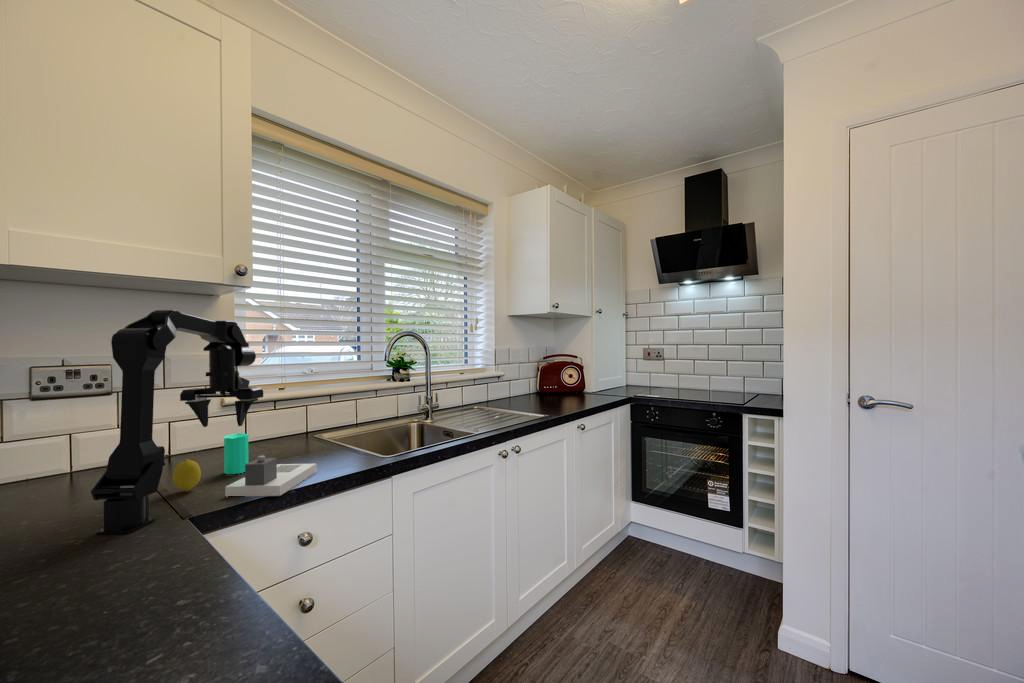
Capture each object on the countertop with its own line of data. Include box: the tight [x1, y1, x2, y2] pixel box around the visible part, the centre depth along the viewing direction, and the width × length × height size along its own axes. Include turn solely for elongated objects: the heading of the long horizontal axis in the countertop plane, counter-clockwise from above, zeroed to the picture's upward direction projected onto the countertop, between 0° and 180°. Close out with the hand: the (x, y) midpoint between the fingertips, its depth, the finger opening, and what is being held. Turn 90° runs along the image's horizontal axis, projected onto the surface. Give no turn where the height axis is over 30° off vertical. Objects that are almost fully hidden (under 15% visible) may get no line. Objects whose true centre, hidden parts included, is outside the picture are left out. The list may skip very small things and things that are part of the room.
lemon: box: [172, 458, 202, 492], centre depth 104 cm, size 6×6×8 cm
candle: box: [223, 430, 250, 474], centre depth 120 cm, size 6×6×12 cm
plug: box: [244, 454, 278, 485], centre depth 104 cm, size 6×4×6 cm
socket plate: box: [224, 463, 318, 498], centre depth 110 cm, size 19×13×3 cm
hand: (222, 426), depth 112 cm, fingers open, 9 cm apart
